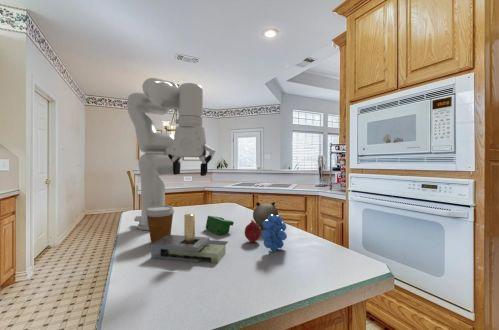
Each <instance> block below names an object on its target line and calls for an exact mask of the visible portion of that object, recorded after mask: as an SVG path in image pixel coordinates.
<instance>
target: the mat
mask: <svg viewBox="0 0 499 330" xmlns="http://www.w3.org/2000/svg"><path fill="white" fill-rule="evenodd" d="M228 243H229V241H224V240H213V239H210V242H208V243H207V244H214V245H227V244H228Z"/></svg>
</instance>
